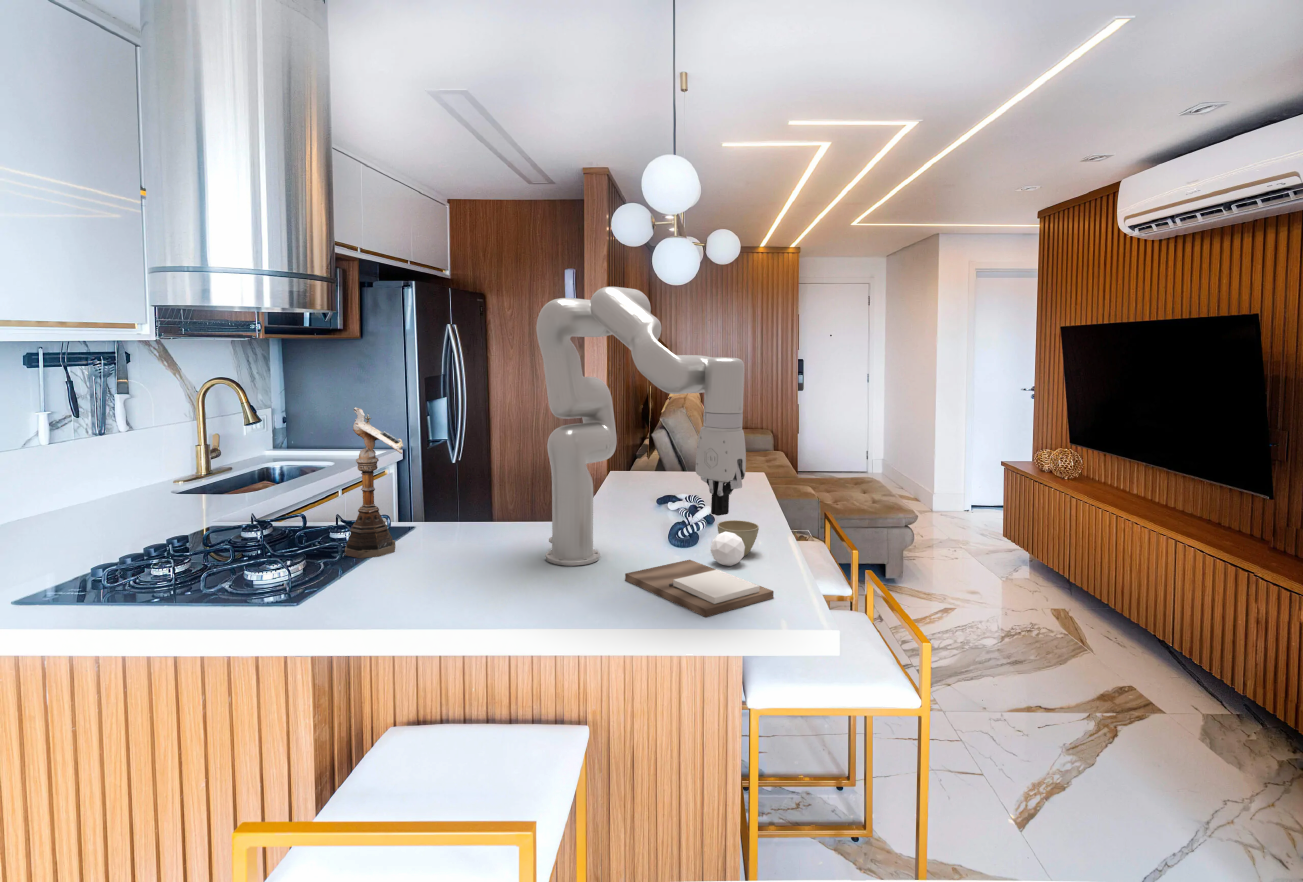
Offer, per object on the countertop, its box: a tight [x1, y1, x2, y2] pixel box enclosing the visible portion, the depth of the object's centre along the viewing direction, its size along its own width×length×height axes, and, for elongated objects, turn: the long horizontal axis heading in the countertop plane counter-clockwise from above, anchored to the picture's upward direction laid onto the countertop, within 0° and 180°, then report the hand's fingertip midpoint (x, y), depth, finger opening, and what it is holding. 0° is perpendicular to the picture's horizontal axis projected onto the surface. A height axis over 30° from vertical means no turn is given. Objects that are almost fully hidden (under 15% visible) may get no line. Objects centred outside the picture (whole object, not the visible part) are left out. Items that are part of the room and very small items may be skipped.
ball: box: [710, 531, 745, 567], centre depth 167 cm, size 8×8×8 cm
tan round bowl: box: [716, 519, 760, 557], centre depth 175 cm, size 10×10×7 cm
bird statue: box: [344, 407, 404, 559], centre depth 173 cm, size 17×13×35 cm
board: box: [624, 559, 775, 618], centre depth 150 cm, size 26×18×2 cm
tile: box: [673, 569, 761, 604], centre depth 145 cm, size 12×12×1 cm
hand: (719, 514), depth 143 cm, fingers closed
